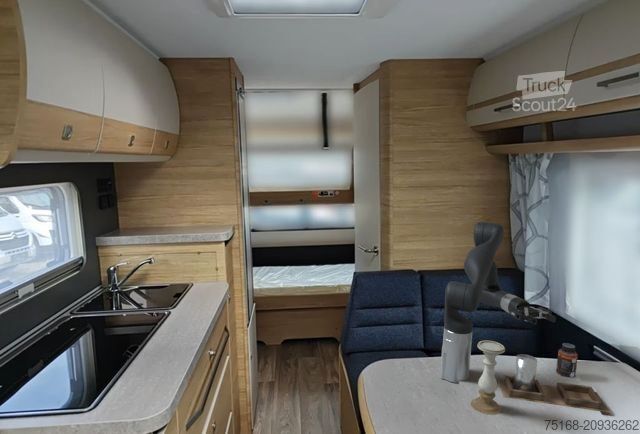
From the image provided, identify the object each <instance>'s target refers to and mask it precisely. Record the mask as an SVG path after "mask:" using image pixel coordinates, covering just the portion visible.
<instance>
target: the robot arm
mask: <svg viewBox="0 0 640 434" xmlns="http://www.w3.org/2000/svg"><path fill="white" fill-rule="evenodd" d="M504 236H505V229H504V226H503V225H502V224H500V223H497V222H486V221H479V222H476V223H475V225H474V228H473V242H474V246H475V247H473V248H472V249H471V250H469V252H468V253H467V256H466V257H465V260H464V263H463V269H464V271H465V273H466V276H467V277H468V279H469V280H470V282H471V283H465V282H461V281H460V282H459V281H454V280H453V281H449V282H448V283H447V285H446V287H445V294H444V317H443V321H444V324H443V325H444V327H443V337H442V338H443V339H442V344H441V345H442V346H441V358H440V361H441V362H440V379H442V380H446V381H448V382H450V383H454V384H455V383H456V384H459V383H460V382H463V381H467V380H468V379H469V377H470V365H471V356H472V355H471V353H472V342H473V341H472V340H473V331H474V330H473V328H474V324H473V322H472V321H471V320H470V319H469V318H467V317H466V316H464V315H462V314H461V313H460V312H459V311H461V312H466V313H474V312H476V311H477V309H478V308H479V305H480V302H481V303H482V304H485V305H487V306H492V307H498V308H500V309H501V310H503V311H505V312H506V313H508V314H510V315H511V317H512V318H514V319H516V320H517V321H520V322H523V321H525V322H528V323H531V324H532V325H537V322H538V319H539V320H541V319H545V320H547V321H549V322H551V323H556V321H557V317H556V316H554V315H552V311H551V310H549V309H546V308H545V307H542V306H538V307H536V308H535V307H534V306H531V304H530V302H528V300H525V299H523V298H521V297H518V296H517V295H514V294H511V293H509V292H507V291H504V290H502V288H501V285H500V282H499V280H498V266H497V264H496V261H495V256H496V254H497V253H498V250H499V248H500V247H501V245H502V243H503V241H504Z"/></svg>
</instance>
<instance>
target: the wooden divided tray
mask: <svg viewBox="0 0 640 434" xmlns="http://www.w3.org/2000/svg"><path fill="white" fill-rule="evenodd" d="M514 377H515V375H514V376H513V375H506V374H504V378H497V383H498V384H499V385H498V386H499V387H500V391H501V394H502V397H503V398H507V399H514V400H521V401H526V402H533V403H540V404H547V405H555V406H561V407H567V408H575V409H581V410H582V409H583V410H588V411H589V410H590V411H596V412H600V414H601V415H602V416H603V415H604V416H612V415H611V414H612V412H611V410H610V409H609V408H608V406H607V404H606V403H605V402H604V401H603V399H602V398H601V397H600V395H599V393H598V392H597V391H595V390H594V389H593V387H592V386H590V385H589V386H588V385H581V384H573V383H565V382H558V381H557V383H556V386H554V385H548V384H541V383H540V382H539V380H538V379H536V378H535V386H534V392H529V391H522V390H515V389H513V387H514Z"/></svg>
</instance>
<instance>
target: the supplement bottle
mask: <svg viewBox="0 0 640 434" xmlns="http://www.w3.org/2000/svg"><path fill="white" fill-rule="evenodd" d="M557 353H558V354H557V359H556V369H555V372H556V373H557V374H558V375H560V376H561V377H565V378H571V379H572V378H575V377H576V373H577V364H578V356H579V355H578V353H577V351H576V346H575V345H574V344H572V343H567V342H564V343H562V345H561V348H560V349H558V350H557Z"/></svg>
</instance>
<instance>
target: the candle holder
mask: <svg viewBox="0 0 640 434" xmlns="http://www.w3.org/2000/svg"><path fill="white" fill-rule="evenodd" d="M476 346H477V348H478V349H479V350H480V351H482V353H483V354H484V358H483V360H482V362H483V363H484V366H483V372H482V374H481V376H480V377H479V379H478V382H477V385H478V388H479V389H478V394H479V396H478V397H476V398H473V399H472V400H471V401H470V407H471V408H472V409H474V411H477V412H479V413H480V414H484V415H487V416H488V415H489V416H494V415H495V416H496V415H498V414H501V413H502V407H501V406H500V405H499V404H498V402H497V401H496V400H494V399H495V398H496V393H495V392H496V391H497V389H498V387H499V385H498V380H497V379H496V375H495V366H497V361H496V357H498V356H499V355H501V354H503V353H505V352H506V347H505V346H504V345H503V344H501V343H500V342H497V341H494V340H481V341H478V343H477V345H476Z"/></svg>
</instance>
